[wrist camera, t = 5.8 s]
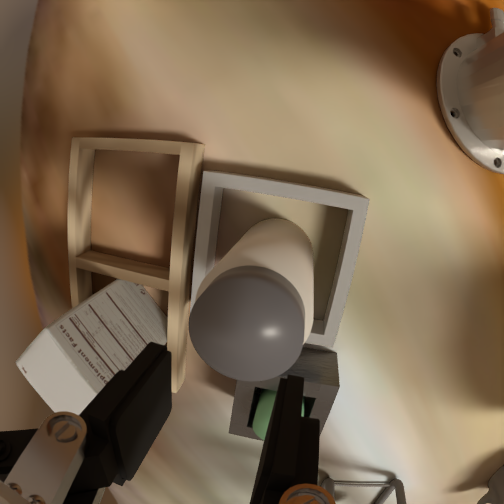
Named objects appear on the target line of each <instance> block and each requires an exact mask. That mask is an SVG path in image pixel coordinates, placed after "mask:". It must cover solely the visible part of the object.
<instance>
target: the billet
mask: <svg viewBox="0 0 504 504" xmlns="http://www.w3.org/2000/svg"><path fill="white" fill-rule="evenodd" d="M313 313H314V277H313V248H312V244H311V242H310V239H309V238H308V236H307V234H306V233H305V232H304V231H303V230H302V229H301V228H300V227H299V226H298V225H296V224H294V223H293V222H290V221H288V220H284V219H278V218H274V219H267V220H263V221H261V222H258V223H257V224H255V225H254V226H252V227H251V228H250V229H249V230H248V231H247V232H246V233H245V235H244V236H243V237H242V238H241V239H240V240H239V241H238V242H237V243H236V244H235V245H234V246H233V247H232V248H231V250H230V251H229V252H228V253H227V254H226V255H225V256H224V257H223V258H222V259H221V260H220V261H219V262H218V264H217V265H216V266H215V267H214V268H213V269H212V270H211V271H210V272H209V273H208V274H207V276H206V277H205V278H204V279H203V281H202V282H201V284H200V286H199V288H198V291H197V294H196V299H195V304H194V305H193V308H192V310H191V313H190V317H189V333H190V338H191V341H192V343H193V346H194V348H195V350H196V351H197V353H198V354H199V356H200V357H201V358H202V359H203V360H204V361H205V362H206V363H207V364H208V365H209V366H210V367H211V368H213V369H214V370H216V371H217V372H219V373H221V374H223V375H225V376H227V377H230V378H233V379H236V380H241V381H251V382H252V381H263V380H268V379H271V378H274V377H276V376H279V375H280V374H282V373H284V372H285V371H287V370H288V369H289V368H290V367H291V366H292V365H293V364H294V363H295V362H296V360H297V359H298V357H299V355H300V353H301V350H302V347H303V344H304V343H305V342H306V340H307V338H308V336H309V335H310V332H311V329H312V325H313Z"/></svg>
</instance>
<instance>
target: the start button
mask: <svg viewBox="0 0 504 504" xmlns="http://www.w3.org/2000/svg"><path fill="white" fill-rule="evenodd" d="M276 393H277V391H273V390H268V389H263V388H262V390H261V394H260V397H259V401H258V405H257V409H256V413H255V417H254V421H253V430H254V432H255V434H256V435H257V436H258V437H260V438H261V439H263V440H265V436H266V432H267V428H268V424H269V420H270V416H271V413H272V409H273V405H274V401H275V397H276ZM304 405H305V396H303V403H302V414H301V416H303V417H304Z"/></svg>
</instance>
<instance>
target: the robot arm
mask: <svg viewBox="0 0 504 504" xmlns="http://www.w3.org/2000/svg"><path fill="white" fill-rule="evenodd" d="M490 17H491V22H492V29H490V31H488V32H487V33H486V34H481V33H474V34H467V35H465V36H462V37H460V38H458V39H457V40H456V41H454V42H453V43H452V44H451V45H450V46H449V47H448V48H447V49H446V50H445V52H444V54H443V56H442V58H441V59H440V62H439V67H438V70H437V84H436V85H437V94H438V100H439V104H440V108H441V112H442V115H443V117H444V120H445V122H446V124H447V127H448V129H449V130H450V132H451V134H452V136H453V137H454V139H455V141H456V142H457V143H458V145H459V146H460V147H461V148H462V150H463V151H464V152H465V153H466V154H467V155H468V156H469V157H470V158H471V159H472V160H473V161H474V162H476V163H477V164H479V165H480V166H482V167H483V168H485V169H487V170H490V171H492V172H495V173H500V174H504V12H503V11H502V10H501V9H498V8H491V9H490ZM454 54H455V55H454ZM450 111H451V112H452V113H453V117H452V115H451V113H450ZM303 390H304V377H299V376H293V375H287V379H286V378H280V381H279V385H278V389H277V393H276V397H275V401H274V405H273V409H272V413H271V416H270V420H269V424H268V428H267V432H266V436H265V440H264V444H263V449H262V453H261V458H260V462H259V467H258V471H257V475H256V480H255V484H254V488H253V492H252V496H251V500H250V504H336V503H335V501H334V498H333V496H332V495H331V494H330V493H329V492H328V491H327V490H325V489H324V488H322V487H320V486H317V480H318V461H319V436H320V420H319V419H316V418H309V417H303V416H301V414H302V403H303ZM171 408H172V353H171V351H168V350H167V346H165V345H161V344H158V343H155V342H149V343H148V344H147V346H146V347H145V348H144V349H143V350H142V351H141V352H140V354H139V355H138V356H137V357H136V358H135V359H134V360H133V362H132V363H131V364H130V365H129V366H128V367H127V368H126V370H125V371H124V370H119V371H118V372H117V373H116V374H115V375H114V376H113V377H112V378H111V380H110V381H109V382H108V383H107V384H106V385H105V386H104V387H103V388H102V390H101V391H100V392H99V393H98V394H97V395H96V396H95V397H94V399H93V400H92V401H91V402H90V403H89V404H88V405H87V407H86V408H85V409H84V410H83V411H82V412H81V413H80V414H79V415H77V414H75V413H72V412H67V411H60V412H56V413H53V414H51V415H49V416H48V417H47V418H46V419H45V420H44V421H43V423H42V424H41V426H40V427H39V428H38V429H29V430H18V431H4V432H3V431H2V432H0V504H99V503H100V500H101V498H102V495H103V493H104V490H105V487H109V486H110V485H111V484H112V482H114V483H116V484H118V485H121V486H123V484H124V482H125V481H126V480H128V481H130V480H131V479H132V478H133V477H134V475H135V473H136V471H137V470H138V468H139V466H140V465H141V463H142V461H143V459H144V458H145V456H146V454H147V453H148V451H149V449H150V447H151V446H152V444H153V442H154V440H155V439H156V437H157V435H158V434H159V432H160V430H161V428H162V427H163V425H164V423H165V421H166V420H167V418H168V416H169V414H170V412H171Z"/></svg>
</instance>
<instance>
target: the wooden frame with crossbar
mask: <svg viewBox="0 0 504 504" xmlns="http://www.w3.org/2000/svg"><path fill="white" fill-rule="evenodd" d="M204 147H205V145H204V144H197V143H188V142H176V141H163V140H147V139H126V138H83V137H72V143H71V154H70V167H69V185H68V259H69V277H70V290H71V301H72V308H74V307H75V306H77V305H78V304H80V303H81V302H83V301H84V300H86V299H87V298H89V297H90V296H92V295H93V294H92V274H91V271H92V272H95V273H99V274H102V275H106V276H110V277H114V278H117V279H121V280H125V281H129V282H133V283H137V284H140V285H144V286H148V287H152V288H156V289H160V290H165V291H169V297H168V329H167V350H168V351H171V353H172V392H174V393H177V392H178V390H179V388H180V387H181V385H182V383H183V382H184V380H185V366H186V344H187V326H188V309H189V295H190V281H191V269H192V257H193V245H194V235H195V225H196V215H197V205H198V196H199V188H200V179H201V171H202V163H203V155H204ZM95 149H101V150H121V151H137V152H151V153H163V154H174V155H180V160H179V168H178V177H177V187H176V197H175V207H174V218H173V230H172V244H171V259H170V268H166V267H161V266H157V265H152V264H148V263H143V262H139V261H134V260H130V259H126V258H121V257H117V256H113V255H109V254H104V253H100V252H96V251H92V250H91V202H92V182H93V168H94V156H95Z"/></svg>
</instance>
